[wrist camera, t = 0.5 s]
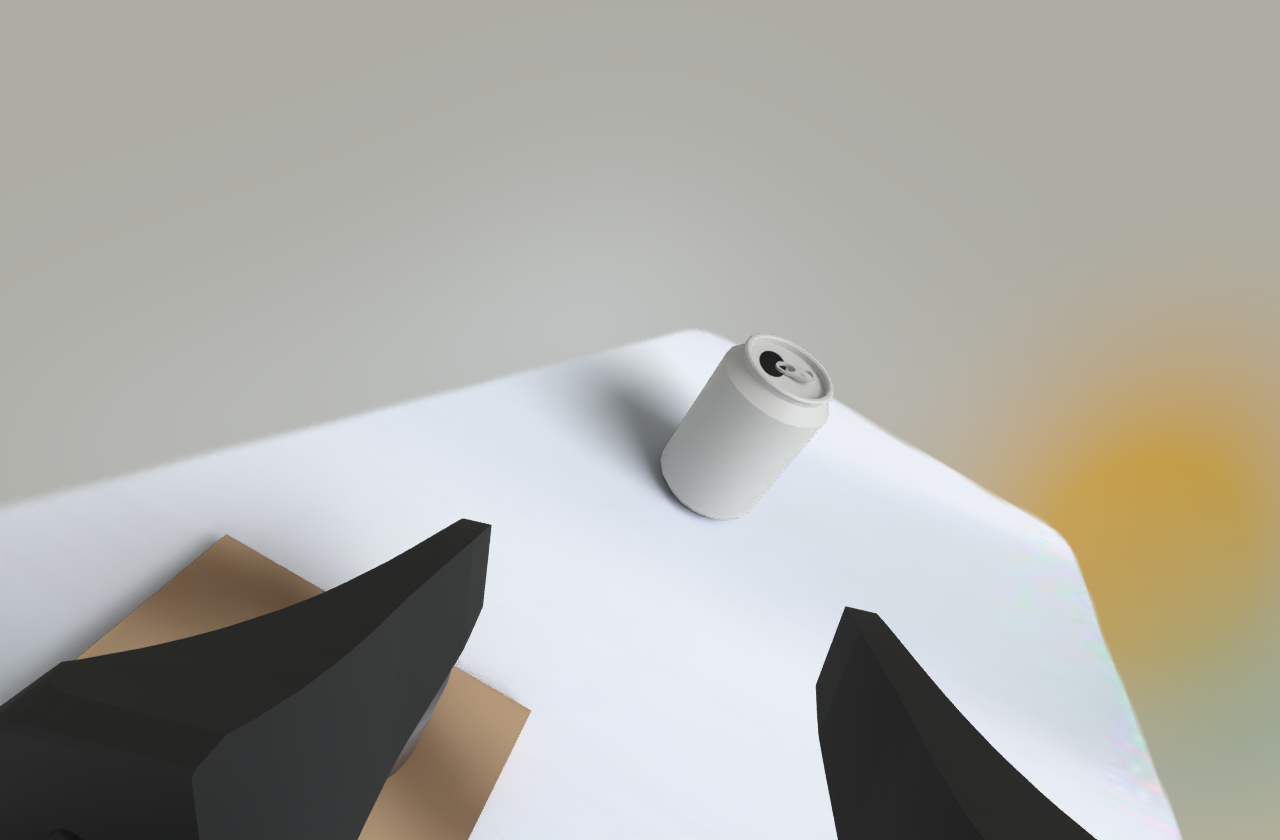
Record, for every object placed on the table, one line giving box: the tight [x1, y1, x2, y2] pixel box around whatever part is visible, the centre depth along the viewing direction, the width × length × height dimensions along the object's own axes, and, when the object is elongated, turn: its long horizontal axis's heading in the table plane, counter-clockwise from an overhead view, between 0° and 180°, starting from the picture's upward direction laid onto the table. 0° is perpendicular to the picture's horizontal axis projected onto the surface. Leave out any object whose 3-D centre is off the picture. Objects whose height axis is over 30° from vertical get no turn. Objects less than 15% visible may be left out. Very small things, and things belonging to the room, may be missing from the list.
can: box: [660, 334, 834, 520], centre depth 42 cm, size 8×8×12 cm
